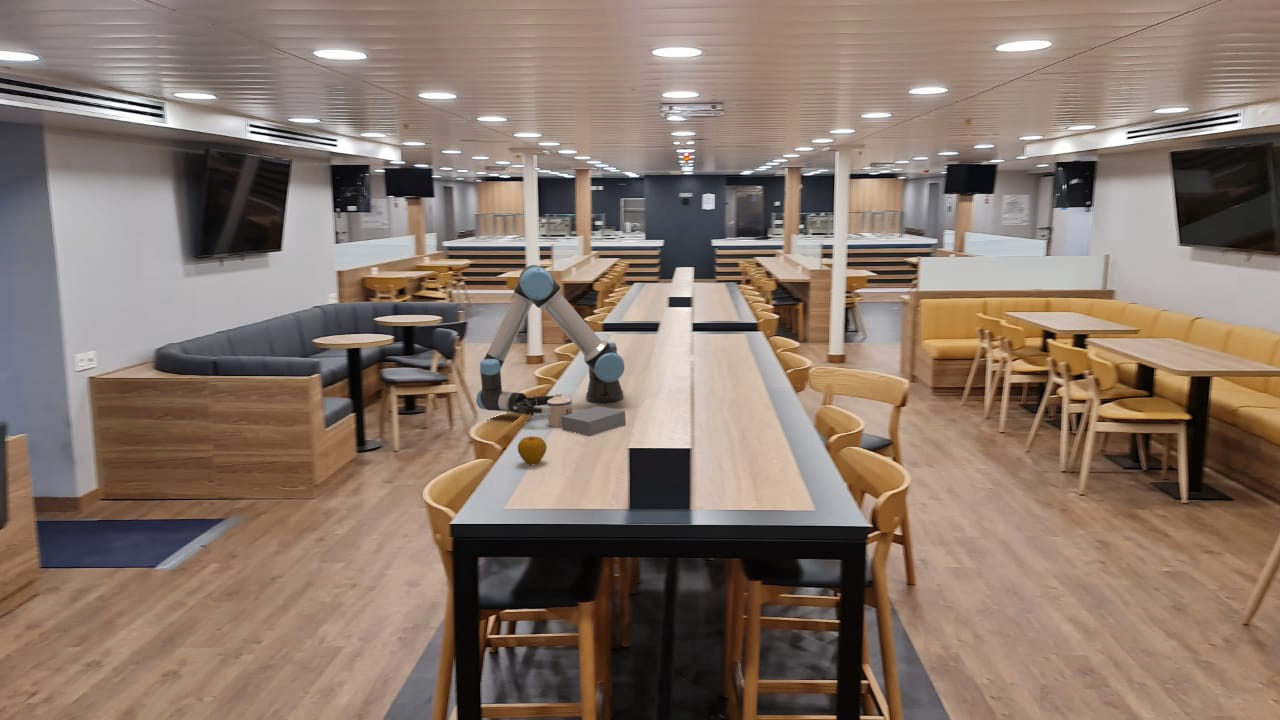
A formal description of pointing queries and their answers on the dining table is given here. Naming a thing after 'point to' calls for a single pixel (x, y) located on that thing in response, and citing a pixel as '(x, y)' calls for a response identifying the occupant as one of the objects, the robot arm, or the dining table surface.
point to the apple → (532, 449)
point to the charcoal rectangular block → (593, 420)
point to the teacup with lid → (558, 409)
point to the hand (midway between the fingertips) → (560, 406)
